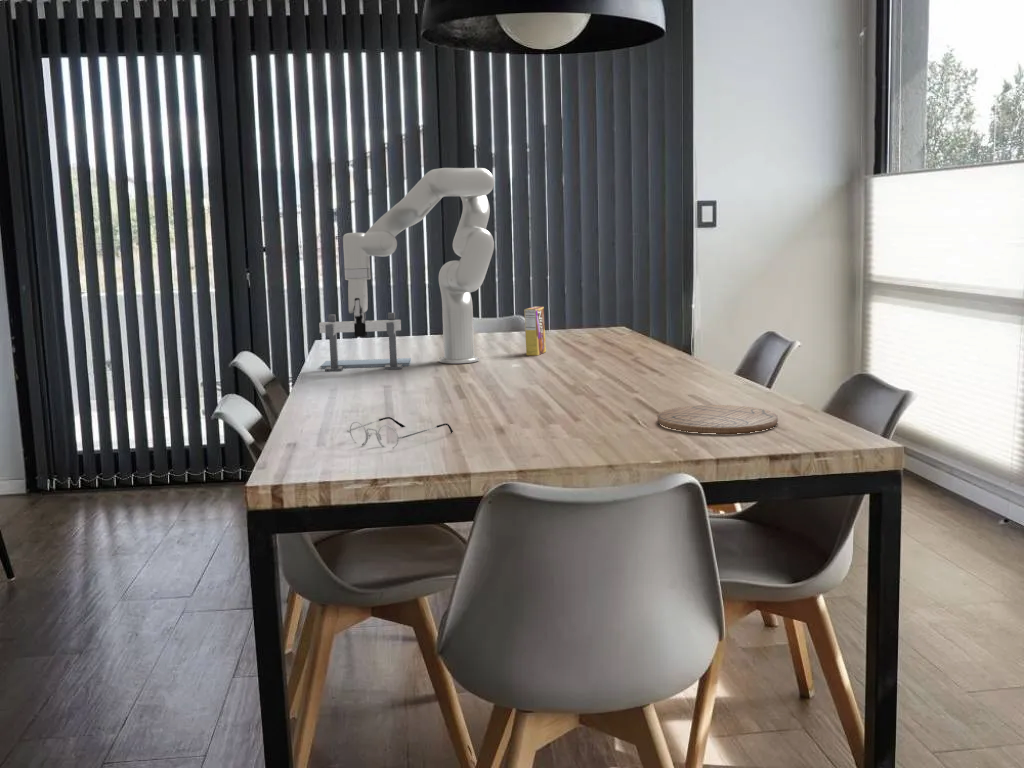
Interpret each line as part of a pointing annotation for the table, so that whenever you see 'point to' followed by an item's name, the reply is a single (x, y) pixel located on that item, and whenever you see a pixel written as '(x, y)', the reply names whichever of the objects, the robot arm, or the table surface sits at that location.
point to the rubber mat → (367, 363)
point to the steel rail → (369, 326)
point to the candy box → (535, 331)
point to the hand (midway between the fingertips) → (360, 335)
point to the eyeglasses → (390, 427)
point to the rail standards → (334, 350)
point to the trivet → (718, 419)
